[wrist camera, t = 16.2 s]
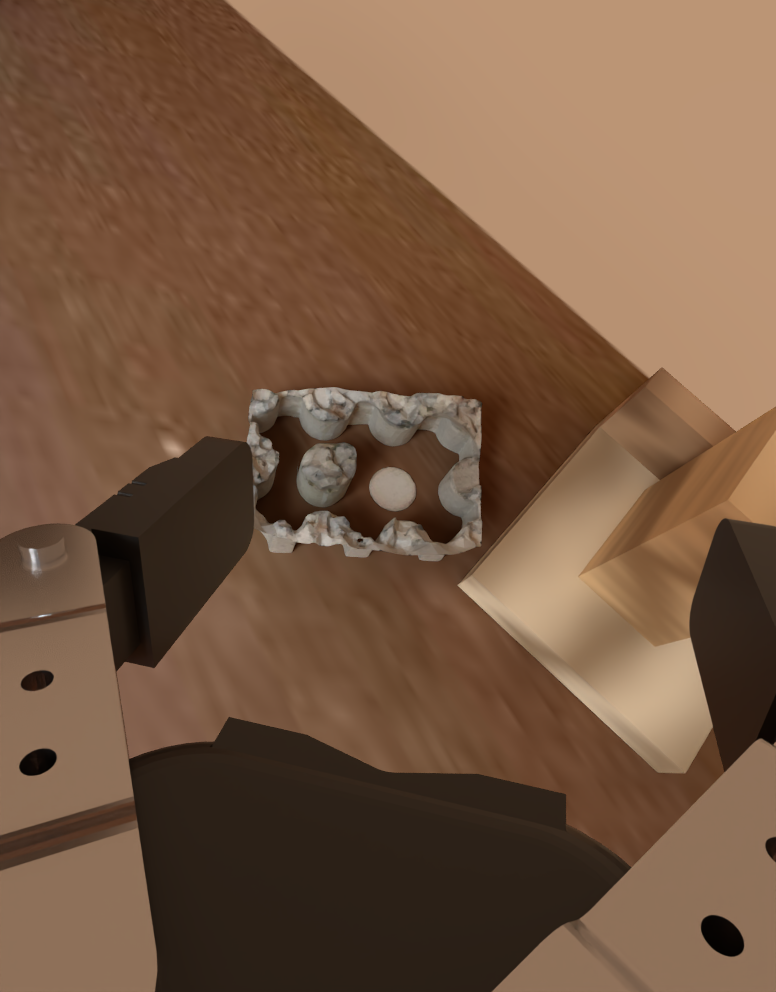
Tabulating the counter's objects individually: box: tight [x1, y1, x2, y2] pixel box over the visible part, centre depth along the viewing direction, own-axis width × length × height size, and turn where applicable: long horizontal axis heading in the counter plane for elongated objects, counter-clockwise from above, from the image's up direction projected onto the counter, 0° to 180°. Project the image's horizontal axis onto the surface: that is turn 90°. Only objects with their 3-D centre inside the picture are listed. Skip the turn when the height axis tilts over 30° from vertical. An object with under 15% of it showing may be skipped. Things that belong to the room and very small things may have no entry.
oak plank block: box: [578, 407, 776, 647], centre depth 27 cm, size 4×6×10 cm
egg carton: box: [247, 387, 482, 561], centre depth 31 cm, size 11×8×4 cm
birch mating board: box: [458, 368, 736, 773], centre depth 31 cm, size 12×12×6 cm
